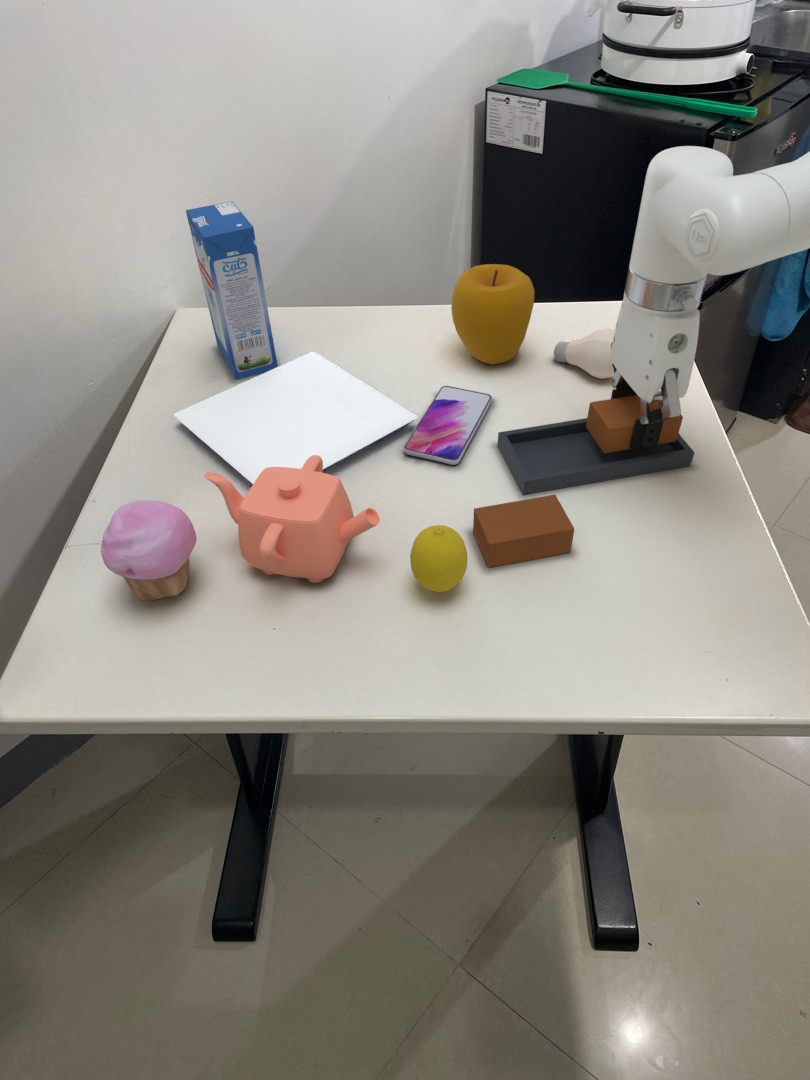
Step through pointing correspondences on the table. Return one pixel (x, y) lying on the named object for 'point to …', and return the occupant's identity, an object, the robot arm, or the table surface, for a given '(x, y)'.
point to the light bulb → (589, 353)
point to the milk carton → (233, 287)
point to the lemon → (438, 558)
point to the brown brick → (522, 530)
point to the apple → (492, 311)
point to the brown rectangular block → (623, 423)
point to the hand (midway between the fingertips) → (631, 430)
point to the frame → (579, 457)
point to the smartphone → (448, 425)
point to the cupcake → (150, 548)
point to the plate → (294, 417)
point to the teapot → (294, 520)
